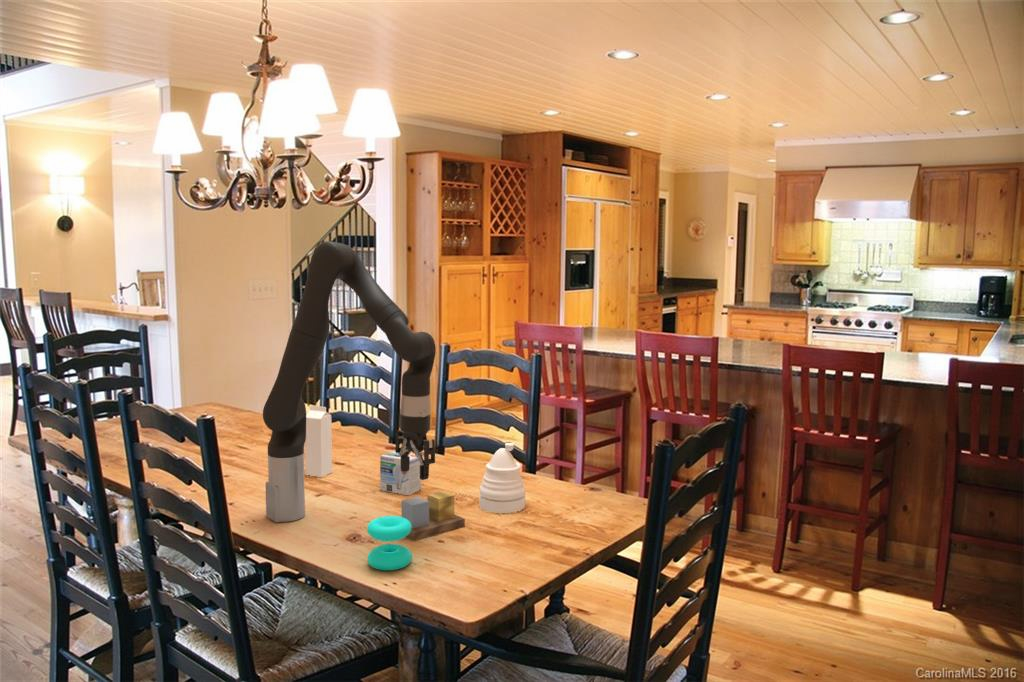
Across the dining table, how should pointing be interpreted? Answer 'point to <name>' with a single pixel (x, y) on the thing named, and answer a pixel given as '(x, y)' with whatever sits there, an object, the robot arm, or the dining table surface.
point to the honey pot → (502, 484)
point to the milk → (318, 442)
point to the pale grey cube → (416, 511)
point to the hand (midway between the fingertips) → (414, 475)
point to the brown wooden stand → (438, 516)
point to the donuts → (389, 553)
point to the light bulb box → (399, 474)
